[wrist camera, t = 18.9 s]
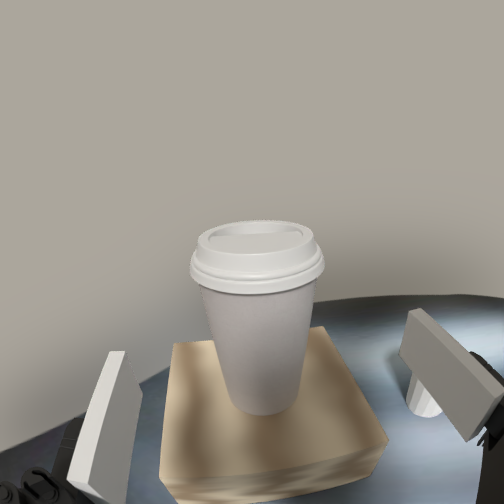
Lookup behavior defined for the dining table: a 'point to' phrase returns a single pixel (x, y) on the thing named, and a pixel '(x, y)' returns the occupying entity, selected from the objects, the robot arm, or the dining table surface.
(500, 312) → the dining table surface
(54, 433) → the dining table surface
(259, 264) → the coffee cup
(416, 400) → the shot glass
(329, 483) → the riser block
